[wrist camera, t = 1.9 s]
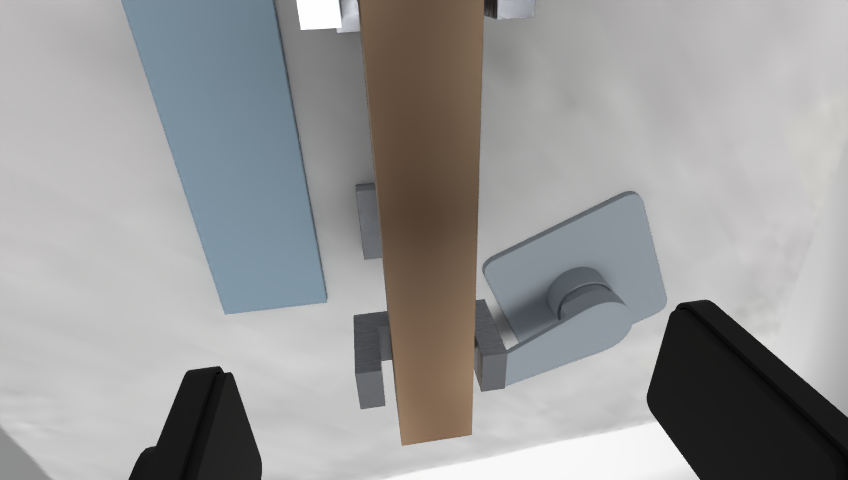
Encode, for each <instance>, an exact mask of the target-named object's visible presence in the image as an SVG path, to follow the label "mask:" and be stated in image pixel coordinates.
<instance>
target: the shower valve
mask: <svg viewBox="0 0 848 480" xmlns="http://www.w3.org/2000/svg"><path fill="white" fill-rule="evenodd" d="M483 273H484V276H485V278H486V280H487V282H488V284H489V286H490V288H491V289H492V291H493V293H494V295H495V297H496V299H497V301H498V303H499V305H500V307H501V309H502V310H503V312H504V314H505V316H506V318H507V320H508V322H509V324H510V326H511V328H512V330H513V331H514V333H515V335H516V337H517V339H518V341H519V344H517V345H515V346H513V347H511V348H510V349H508V350H506V351H507V353H508V354H507V367H506V379H505V386H508V385H511V384H513V383H516V382H519V381H522V380H524V379H527V378H530V377H533V376H535V375H538V374H541V373H544V372H546V371H549V370H552V369H555V368H557V367H560V366H563V365H566V364H568V363H571V362H574V361H577V360H579V359H582V358H585V357H588V356H591V355H594V354H597V353H599V352H602V351H604V350H607V349H609V348H611V347H613V346H614V345H616V344H617V343H619V342H620V341H621V340H622V339H623V338H624V337H625V336H626V335H627V334H628V332H629V331H630V329H631V326H632V324H634V323H637V322H639V321H641V320H643V319H645V318H648V317H650V316H652V315H654V314H656V313H658V312H660V311H661V310H662V309H664V307H665V306H666V303H667V297H666V293H665V289H664V285H663V281H662V277H661V273H660V268H659V264H658V260H657V256H656V252H655V248H654V244H653V240H652V236H651V232H650V227H649V223H648V219H647V215H646V211H645V207H644V203H643V200H642V198H641V197H640V196H639V195H638V194H636V193H635V192H632V191H628V192H624V193H621V194H619V195H617V196H615V197H613V198H611V199H609V200H607V201H605V202H603V203H601V204H599V205H597V206H595V207H593V208H591V209H588V210H586V211H584V212H582V213H580V214H578V215H576V216H574V217H572V218H570V219H568V220H566V221H564V222H562V223H560V224H558V225H556V226H554V227H552V228H550V229H548V230H546V231H544V232H542V233H539V234H537V235H535V236H533V237H531V238H529V239H527V240H525V241H523V242H521V243H519V244H517V245H515V246H513V247H511V248H509V249H507V250H505V251H503V252H501V253H499V254H497V255H495V256H493V257H491V258H489V259H488V260H487V261H486V262H485V263H484V265H483Z"/></svg>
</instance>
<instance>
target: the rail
mask: <svg viewBox="0 0 848 480" xmlns="http://www.w3.org/2000/svg"><path fill="white" fill-rule="evenodd" d="M357 1H358V11H359V21H360V32H361V42H362V52H363V63H364V73H365V83H366V94H367V104H368V114H369V125H370V135H371V145H372V156H373V166H374V176H375V187H376V197H377V207H378V218H379V228H380V239H381V249H382V259H383V270H384V280H385V290H386V301H387V311H388V321H389V332H390V342H391V352H392V363H393V373H394V383H395V393H396V401H397V409H398V418H399V426H400V434H401V442H402V446H404V445H410V444H416V443H423V442H429V441H436V440H442V439H449V438H455V437H461V436H468V435H472V406H473V371H474V336H475V301H476V265H477V230H478V195H479V160H480V125H481V89H482V54H483V19H484V0H357Z"/></svg>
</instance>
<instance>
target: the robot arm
mask: <svg viewBox="0 0 848 480" xmlns="http://www.w3.org/2000/svg"><path fill="white" fill-rule="evenodd" d="M647 403H648V407H649V409H650V411H651V412H652V414H653V415H654V417H655V418H656V419H657V421H658V422H659V424H660V425H661V426H662V428H663V429H664V430H665V432H666V433H667V435H668V436H669V437H670V439H671V440H672V441H673V443H674V444H675V446H676V447H677V448H678V450H679V451H680V452H681V454H682V455H683V457H684V458H685V459H686V461H687V462H688V464H689V465H690V466H691V468H692V469H693V470H694V472H695V473H696V475H697V476H698V477H699V479H700V480H848V417H846V416H845V415H844V414H843V413H842V412H841V411H840V410H838V409H837V408H836V407H835V406H834V405H832V404H831V403H830V402H829V401H828V400H827V399H825V398H824V397H823V396H822V395H821V394H819V393H818V392H817V391H816V390H815V389H814V388H813V387H811V386H810V385H809V384H808V383H807V382H805V381H804V380H803V379H802V378H801V377H800V376H798V375H797V374H796V373H795V372H794V371H793V370H791V369H790V368H789V367H788V366H787V365H786V364H784V363H783V362H782V361H781V360H780V359H779V358H778V357H776V356H775V355H774V354H773V353H772V352H771V351H769V350H768V349H767V348H766V347H765V346H764V345H762V344H761V343H760V342H759V341H758V340H757V339H755V338H754V337H753V336H752V335H751V334H750V333H748V332H747V331H746V330H745V329H744V328H743V327H741V326H740V325H739V324H738V323H737V322H736V321H734V320H733V319H732V318H731V317H730V316H729V315H727V314H726V313H725V312H724V311H723V310H722V309H720V308H719V307H718V306H717V305H716V304H715V303H713V302H711V301H709V300H699V301H692V302H685V303H680V304H679V305H678V306H677V307H676V309H675V311H673V312H672V313H671V314H670V316H669V320H668V323H667V327H666V330H665V334H664V337H663V341H662V344H661V348H660V351H659V355H658V358H657V361H656V365H655V368H654V372H653V375H652V379H651V382H650V386H649V389H648V393H647ZM261 476H262V462H261V457H260V454H259V451H258V448H257V445H256V442H255V439H254V436H253V433H252V430H251V427H250V424H249V421H248V418H247V415H246V412H245V409H244V406H243V403H242V400H241V397H240V394H239V391H238V388H237V385H236V382H235V379H234V376H233V374H232V373H231V372H228V373H224V372H223V370H222V368H221V367H220V366H217V367H209V368H202V369H195V370H189V371H187V372H186V374H185V375H184V378H183V380H182V383H181V385H180V388H179V390H178V393H177V395H176V398H175V400H174V403H173V405H172V408H171V410H170V413H169V415H168V418H167V420H166V423H165V425H164V428H163V430H162V433H161V435H160V438H159V440H158V443H157V445H156V446H154V447H149V448H146V449H145V450H144V451H143V452H142V453H141V454H140V456H139V458H138V460H137V461H136V463H135V466H134V468H133V470H132V473H131V475H130V477H129V480H261Z"/></svg>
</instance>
